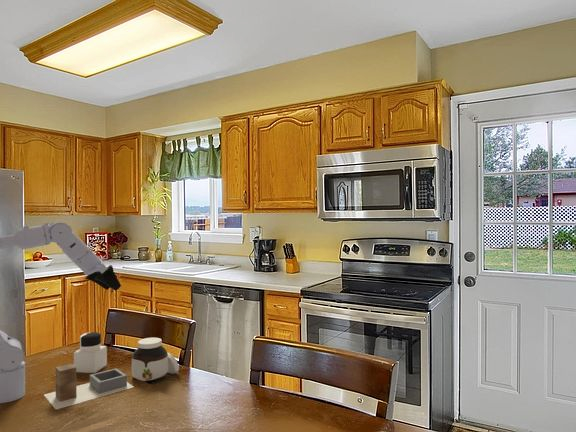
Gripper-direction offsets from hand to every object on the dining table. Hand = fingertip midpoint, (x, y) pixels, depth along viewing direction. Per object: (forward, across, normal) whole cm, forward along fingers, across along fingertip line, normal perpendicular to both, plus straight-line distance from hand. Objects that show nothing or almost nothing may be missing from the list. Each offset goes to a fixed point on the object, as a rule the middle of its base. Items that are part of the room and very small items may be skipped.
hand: (113, 287), depth 129 cm
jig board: (+16, -5, +25) cm, 30 cm away
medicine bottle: (+18, +13, +20) cm, 30 cm away
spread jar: (+28, -5, +11) cm, 30 cm away
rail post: (+11, -5, +29) cm, 31 cm away
